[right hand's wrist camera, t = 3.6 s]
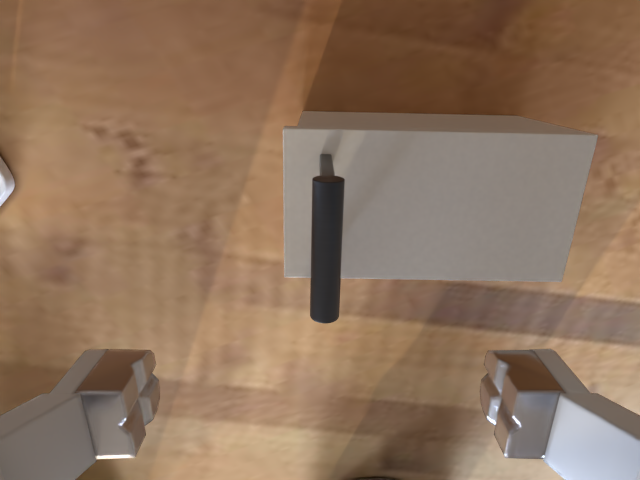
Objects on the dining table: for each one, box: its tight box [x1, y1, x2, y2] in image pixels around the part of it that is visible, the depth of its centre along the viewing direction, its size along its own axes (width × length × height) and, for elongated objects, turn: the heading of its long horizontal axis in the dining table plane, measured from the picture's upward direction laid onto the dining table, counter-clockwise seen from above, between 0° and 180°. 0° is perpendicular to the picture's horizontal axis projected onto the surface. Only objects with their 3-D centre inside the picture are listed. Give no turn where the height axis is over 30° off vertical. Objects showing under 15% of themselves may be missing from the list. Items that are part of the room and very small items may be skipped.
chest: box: [298, 111, 584, 132], centre depth 33 cm, size 18×10×10 cm, turn 89°
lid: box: [283, 126, 598, 323], centre depth 24 cm, size 18×10×9 cm, turn 89°
